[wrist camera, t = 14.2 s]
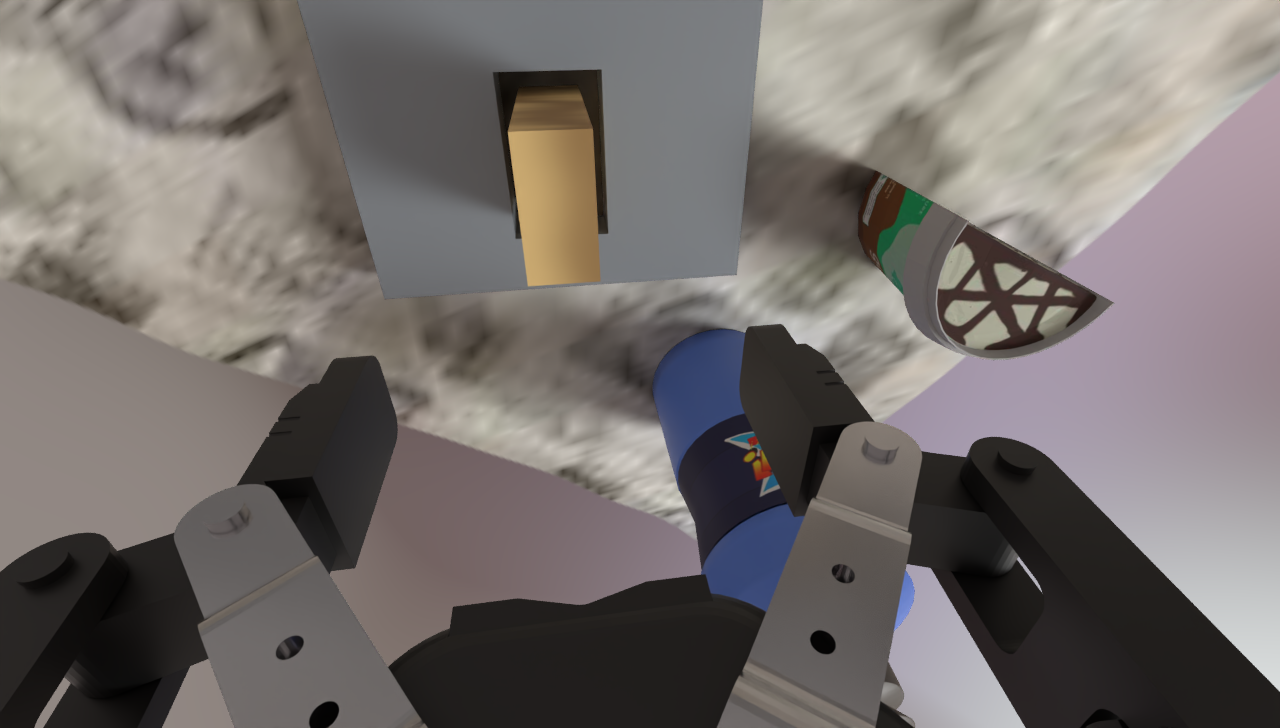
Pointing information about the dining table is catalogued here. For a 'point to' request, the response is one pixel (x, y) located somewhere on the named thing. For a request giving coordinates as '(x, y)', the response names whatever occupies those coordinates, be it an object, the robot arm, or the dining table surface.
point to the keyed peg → (555, 185)
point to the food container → (969, 278)
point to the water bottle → (732, 478)
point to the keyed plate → (477, 143)
